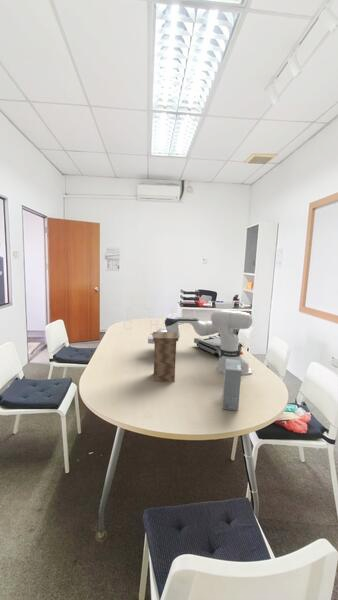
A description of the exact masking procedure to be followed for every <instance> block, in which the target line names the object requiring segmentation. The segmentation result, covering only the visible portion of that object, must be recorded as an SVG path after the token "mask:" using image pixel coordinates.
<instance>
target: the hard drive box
mask: <svg viewBox="0 0 338 600" xmlns="http://www.w3.org/2000/svg"><path fill="white" fill-rule="evenodd" d="M241 372H242V371H241V364H240V360H232V359H225V372H224V373H223V387H222V388H223V389H222V402H221V403H222V404H221V409H223V410H231V411H235V412H238V411H239V404H240V403H239V402H240V394H241V381H242V375H241Z"/></svg>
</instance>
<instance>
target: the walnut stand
mask: <svg viewBox="0 0 338 600" xmlns="http://www.w3.org/2000/svg"><path fill="white" fill-rule="evenodd" d="M152 333H153V341H155V344H154V351H153V352H154V353H153V354H154V355H153V382H155V383H157V382H161V383H162V382H164V383H165V382H166V383H168V382H169V383H170V382H171V383H172V382H173V383H175V381H176V357H177V356H176V354H177V342H179V339H178V336H177V332H157V331H153V332H152ZM176 341H177V342H176Z"/></svg>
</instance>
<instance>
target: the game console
mask: <svg viewBox="0 0 338 600" xmlns="http://www.w3.org/2000/svg"><path fill="white" fill-rule="evenodd" d="M193 343H194V344H196V346H197V348H198V349H199V350H202V351H203V352H206V353H208V354H210V355H212V356H214V357H216V358H218V359H219V350H220V345H221V338H220V337H219V336H215V335H208V338H201V337H196V338H193ZM242 347H243V346H242V344H240V343H238V349H239V350H240V351H242V349H243V348H242Z"/></svg>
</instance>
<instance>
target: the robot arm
mask: <svg viewBox="0 0 338 600" xmlns="http://www.w3.org/2000/svg"><path fill="white" fill-rule="evenodd" d="M179 324H190V325H191V326H192V329H193V330H194V331H195V333H196V334H197V335H198V336H199V337H200V336H201V337H206V336H213V335H215V334H217V336H216V337H218V338H221V345H220V350H219V358H218V362H217V365H216V369H215V370H216V371H218V372H220V373H221V374H224V372H225V359H232V360H240V364H241V371H242V372H241V376H244V375H252V374H253V371H252V368H251V367H249V362H248V360H247V359H246V358H244V357H243V356H242V355H244V352H243V351H242V350H241V351H240V350H239V349H238V344H239V337H238V334H236V333H235V332H234V330H247V329H250V328H251V326H252V325H253V316H252V315H251V314H250V313H248V312H245V311H239V310H230V309H229V310H228V309H215V310H213V311H212V312H211V315H210V320H205V321H204V320H203V321H202V320H200V319H198V318H197V317H179V316H177V317H176V316H168V317H166V319H165V320H164V326H165V328H163V327H160V328H158V329H157V330H156V332H161V330H167V332H177V336H178V340H179V339H180V337H181V336H180V329H179ZM177 342H178V341H176V343H177ZM147 344H153V345H155V341H153V332H152V333H150V334H149V335H148V338H147Z"/></svg>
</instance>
